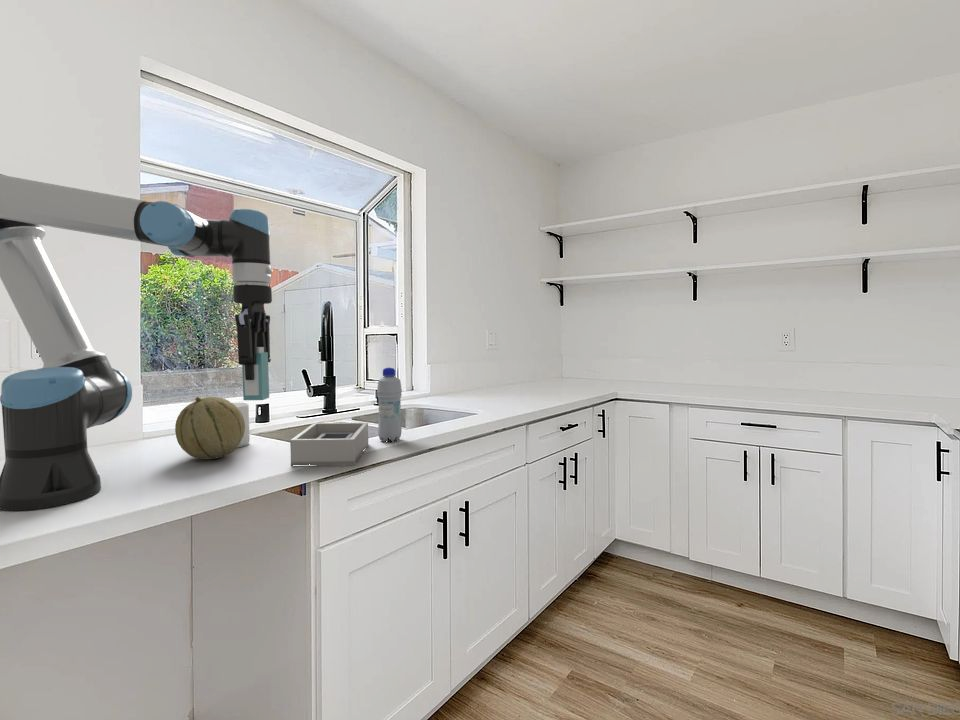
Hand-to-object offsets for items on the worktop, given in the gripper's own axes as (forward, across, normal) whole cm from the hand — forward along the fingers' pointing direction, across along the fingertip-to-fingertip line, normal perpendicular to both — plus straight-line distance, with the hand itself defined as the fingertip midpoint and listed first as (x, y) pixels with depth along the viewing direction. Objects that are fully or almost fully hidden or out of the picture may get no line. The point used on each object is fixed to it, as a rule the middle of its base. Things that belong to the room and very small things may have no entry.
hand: (256, 393), depth 113 cm
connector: (+1, 0, 0) cm, 1 cm away
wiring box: (+17, +12, -13) cm, 25 cm away
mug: (+17, +22, +17) cm, 33 cm away
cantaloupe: (+17, +10, +15) cm, 25 cm away
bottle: (+17, +28, -25) cm, 41 cm away
